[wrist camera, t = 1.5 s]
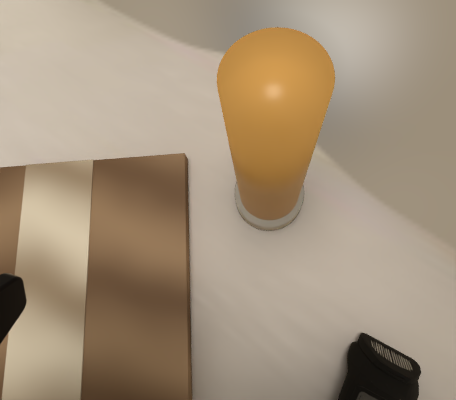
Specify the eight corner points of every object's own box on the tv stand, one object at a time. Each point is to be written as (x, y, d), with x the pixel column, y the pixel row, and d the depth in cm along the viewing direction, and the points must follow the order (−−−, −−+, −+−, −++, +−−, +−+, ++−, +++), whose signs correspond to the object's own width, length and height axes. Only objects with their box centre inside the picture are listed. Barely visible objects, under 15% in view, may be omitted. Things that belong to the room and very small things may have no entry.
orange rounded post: (304, 228, 23) (354, 134, 10) (237, 232, 23) (208, 145, 11) (298, 165, 24) (336, 12, 12) (234, 170, 24) (204, 26, 12)
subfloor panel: (192, 439, 20) (188, 446, 19) (-22, 444, 21) (-37, 452, 20) (187, 159, 25) (184, 152, 24) (9, 172, 26) (-1, 167, 25)
